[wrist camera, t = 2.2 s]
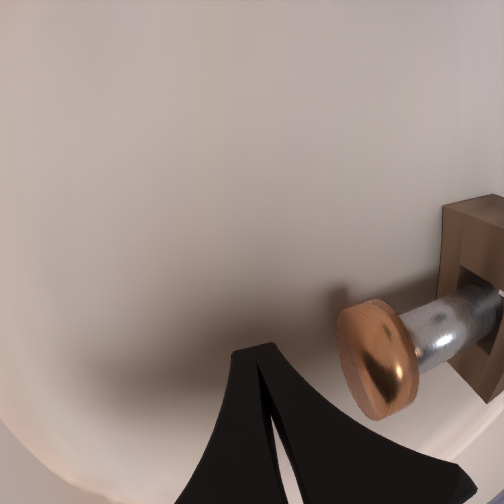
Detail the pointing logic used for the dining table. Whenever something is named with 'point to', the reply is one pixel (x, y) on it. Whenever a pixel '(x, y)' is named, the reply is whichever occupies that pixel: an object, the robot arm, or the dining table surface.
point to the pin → (409, 343)
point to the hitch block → (469, 270)
